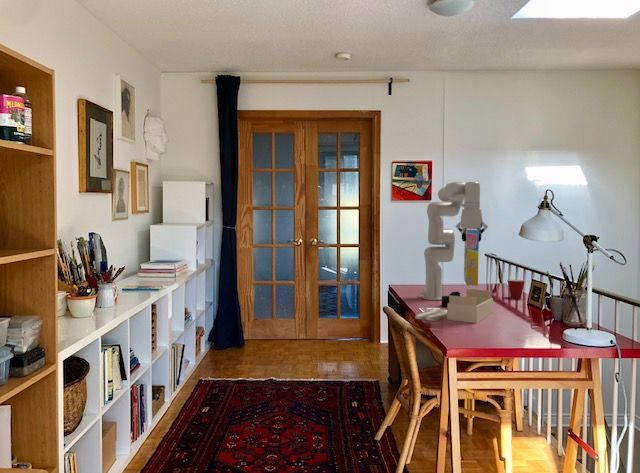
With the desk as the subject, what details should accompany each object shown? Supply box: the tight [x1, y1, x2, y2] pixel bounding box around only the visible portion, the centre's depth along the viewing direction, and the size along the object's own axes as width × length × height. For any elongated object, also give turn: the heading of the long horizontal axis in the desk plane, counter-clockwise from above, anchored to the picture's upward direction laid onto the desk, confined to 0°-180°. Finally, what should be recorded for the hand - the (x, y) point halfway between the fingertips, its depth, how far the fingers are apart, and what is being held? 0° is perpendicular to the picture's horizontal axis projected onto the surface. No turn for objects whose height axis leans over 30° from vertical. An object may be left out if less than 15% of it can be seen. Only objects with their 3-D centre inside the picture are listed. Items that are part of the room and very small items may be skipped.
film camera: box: [441, 291, 461, 308], centre depth 290 cm, size 15×10×9 cm, turn 159°
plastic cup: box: [506, 279, 526, 300], centre depth 317 cm, size 11×11×12 cm
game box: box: [463, 229, 480, 287], centre depth 262 cm, size 21×6×27 cm, turn 168°
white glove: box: [414, 308, 447, 322], centre depth 264 cm, size 11×24×2 cm, turn 147°
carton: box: [446, 288, 494, 324], centre depth 263 cm, size 15×29×12 cm, turn 147°
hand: (471, 241), depth 261 cm, fingers closed on game box, 6 cm apart
